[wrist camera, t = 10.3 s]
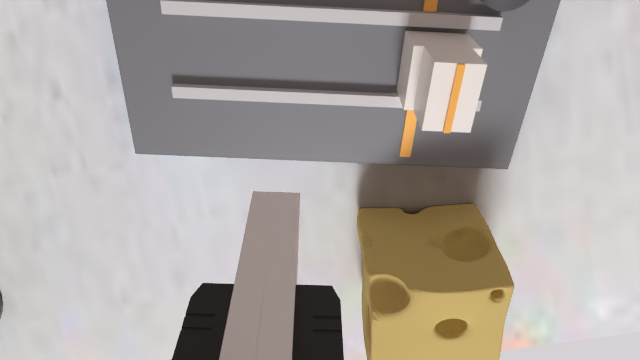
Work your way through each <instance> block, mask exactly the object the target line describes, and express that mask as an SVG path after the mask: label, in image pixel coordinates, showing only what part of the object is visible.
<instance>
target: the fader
mask: <svg viewBox="0 0 640 360" xmlns="http://www.w3.org/2000/svg"><path fill="white" fill-rule="evenodd" d="M482 51H483V49H482V48H481V47H480V46H479V45H478V44H477V42H476V41H475V40H474V39H473V38H472V37H471V36H470V35H469V34H464V33H444V32H423V31H405V36H404V43H403V50H402V57H401V63H400V70H399V77H398V84H397V93H398V96H399V98H400V101H401V104H402V106H403V109H404V110H413V111H414V113H415V115H416V118H417V120H418V123H419V125H420V128H421V130H422V131H442V132H443V133H451V132H465V133H470V132H471V128H472V124H473V120H474V116H475V112H476V108H477V104H478V100H479V96H480V92H481V88H482V84H483V80H484V76H485V72H486V68H487V64H486V63H485V62H484V60H483V59H482V58H481V55H482Z"/></svg>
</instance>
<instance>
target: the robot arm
mask: <svg viewBox="0 0 640 360" xmlns="http://www.w3.org/2000/svg"><path fill="white" fill-rule="evenodd" d="M299 206H300V193H284V192H255V191H253V194H252V199H251V204H250V209H249V214H248V219H247V224H246V229H245V234H244V239H243V244H242V249H241V254H240V259H239V264H238V269H237V273H236V278H235V283H234V284H214V283H202V285H201V286H200V287H199V288H198V289H197V291H196V292H195V293H194V294H193V295H192V296H191V298H190V301H189V305H188V308H187V311H186V317H185V318H184V321H183V325H182V330H181V331H180V335H179V338H178V341H177V345H176V348H175V351H174V355H173V358H172V360H344V356H343V339H342V322H341V305H340V299H339V297H338V296H337V294H336V292H335V290H334V289H333V287H332V286H321V285H297V267H298V239H299ZM2 310H3V304H2V298H1V295H0V318H1V315H2Z"/></svg>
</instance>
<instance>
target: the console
mask: <svg viewBox="0 0 640 360" xmlns="http://www.w3.org/2000/svg"><path fill="white" fill-rule="evenodd" d="M106 1H107V7H108V12H109V17H110V22H111V28H112V33H113V38H114V43H115V49H116V54H117V59H118V64H119V70H120V75H121V80H122V85H123V90H124V96H125V101H126V106H127V111H128V117H129V122H130V127H131V132H132V138H133V143H134V148H135V153H136V154H155V155H179V156H204V157H228V158H252V159H276V160H301V161H325V162H349V163H374V164H398V165H422V166H446V167H471V168H495V169H508V166H509V163H510V160H511V157H512V154H513V150H514V147H515V144H516V141H517V138H518V135H519V131H520V128H521V125H522V122H523V119H524V115H525V112H526V109H527V106H528V103H529V99H530V96H531V93H532V90H533V87H534V83H535V80H536V77H537V74H538V71H539V67H540V64H541V61H542V58H543V55H544V51H545V48H546V45H547V42H548V39H549V35H550V32H551V29H552V26H553V23H554V19H555V16H556V13H557V10H558V7H559V4H560V0H106ZM405 31H423V32H444V33H464V34H469V35H470V36H471V37H472V38H473V39H474V40H475V41H476V42H477V44H478V45H479V46H480V47H481V48H482V49H483V51H482V55H481V58H482V59H483V60H484V62H485V63H486V64H487V68H486V72H485V76H484V80H483V84H482V88H481V92H480V96H479V100H478V104H477V108H476V112H475V116H474V120H473V124H472V128H471V132H470V133H465V132H451V133H443V132H442V131H422V130H421V128H420V125H419V123H418V120H417V118H416V115H415V113H414V111H413V110H404V109H403V106H402V104H401V101H400V98H399V96H398V93H397V84H398V77H399V70H400V63H401V57H402V50H403V43H404V36H405Z"/></svg>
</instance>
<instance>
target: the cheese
mask: <svg viewBox="0 0 640 360" xmlns="http://www.w3.org/2000/svg"><path fill="white" fill-rule="evenodd" d="M357 227H358V234H359V239H360V244H361V249H362V263H363V285H362V318H363V332H364V341H365V348H366V354H367V360H499V358H500V352H501V344H502V336H503V329H504V323H505V319H506V315H507V311H508V307H509V304H510V300H511V297H512V293H513V289H514V283H513V281H512V278H511V275H510V272H509V270H508V267H507V265H506V263H505V261H504V259H503V257H502V255H501V253H500V251H499V249H498V247H497V245H496V242H495V240H494V238H493V236H492V234H491V232H490V229H489V227H488V225H487V224H486V222H485V220H484V218H483V217H482V215H481V213H480V212H479V210H478V209H477V207H476V206H475V205H474V204H456V205H443V206H432V207H427V208H425V209H423V210H421V211H420V212H419V213H416V214H407V213H405V212H403V210H402V209H400V208H360V209H359V212H358V217H357Z"/></svg>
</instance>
